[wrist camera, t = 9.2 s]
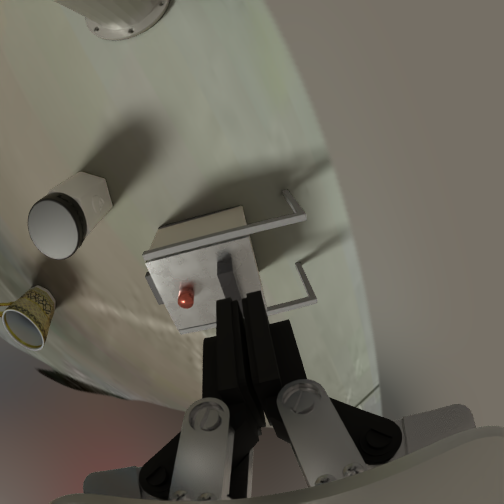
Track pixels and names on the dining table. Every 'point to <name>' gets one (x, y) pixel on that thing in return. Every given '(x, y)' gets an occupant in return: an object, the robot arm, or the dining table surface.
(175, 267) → the lid
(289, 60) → the dining table surface
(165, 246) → the white box with rails
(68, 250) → the jar
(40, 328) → the ceramic cup
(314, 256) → the dining table surface
